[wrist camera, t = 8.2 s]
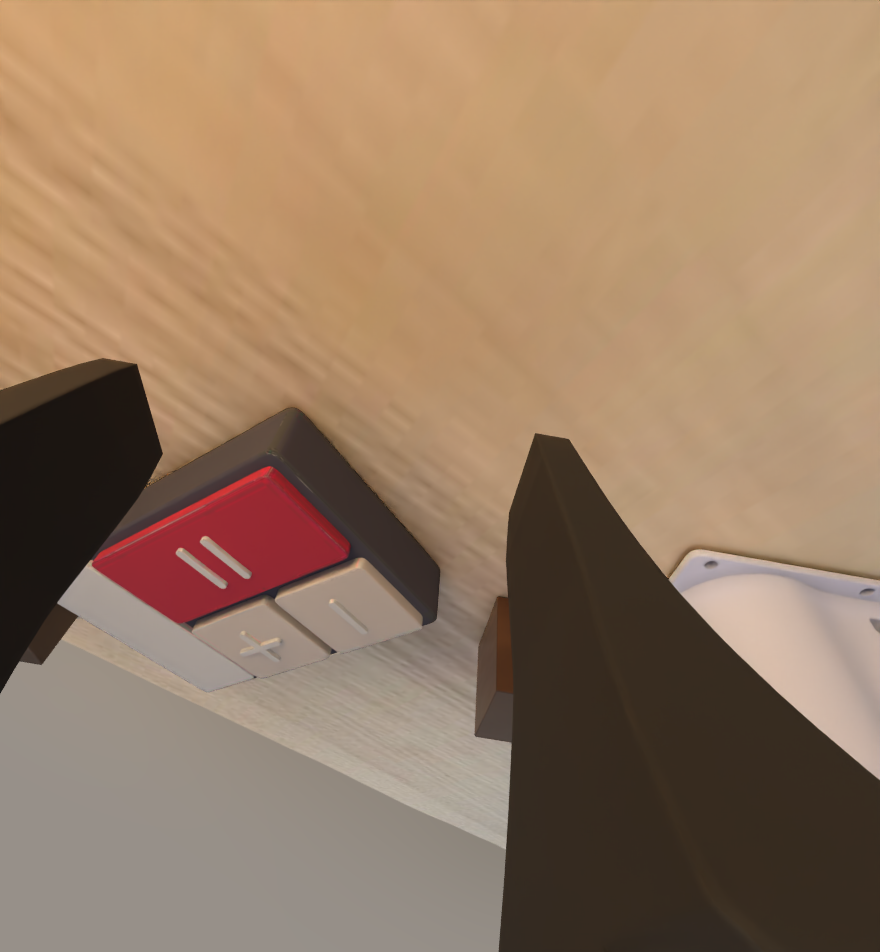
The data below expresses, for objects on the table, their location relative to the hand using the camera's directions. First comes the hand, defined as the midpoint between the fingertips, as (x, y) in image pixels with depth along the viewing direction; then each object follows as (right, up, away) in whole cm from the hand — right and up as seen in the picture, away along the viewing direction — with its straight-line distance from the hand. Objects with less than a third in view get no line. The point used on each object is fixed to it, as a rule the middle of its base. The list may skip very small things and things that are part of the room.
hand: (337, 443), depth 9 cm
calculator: (-7, -4, +16) cm, 18 cm away
